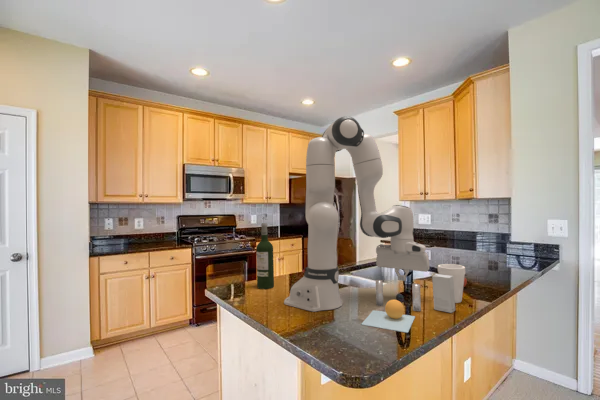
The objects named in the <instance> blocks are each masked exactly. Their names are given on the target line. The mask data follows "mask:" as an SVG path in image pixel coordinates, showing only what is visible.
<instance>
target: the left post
mask: <svg viewBox="0 0 600 400" xmlns="http://www.w3.org/2000/svg"><path fill="white" fill-rule="evenodd" d="M383 282H384V280H381V279H376V280H375V305H376V306H378V307H383V306H384V284H383Z"/></svg>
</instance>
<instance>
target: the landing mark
mask: <svg viewBox="0 0 600 400" xmlns="http://www.w3.org/2000/svg"><path fill="white" fill-rule="evenodd" d="M415 319H416V316H415V315H409V314H403V315H402V317H400V318H398V319H393V318H391V317H389V316H388V315H387V313H386V311H381V310H376V309H375V310H374V309H372V311H371V312H370V313H369V315H368V316H367V317H366V318H365V319H364V320H363V321H362V322H361V326H366V327H371V328H378V329H384V330H389V331H394V332H399V333H400V332H401V333H406V334H408V333H409V331H410V330H411V327H412V325H413V323H414V321H415Z"/></svg>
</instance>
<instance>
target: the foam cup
mask: <svg viewBox="0 0 600 400" xmlns="http://www.w3.org/2000/svg"><path fill="white" fill-rule="evenodd" d="M437 273H438V274H441V275H449V276H453V280H454V296H455V304H459V303H461V302H462V300H463V293H464V287H463V285H464V276H465V274H466V267H465V266H464V265H460V264H454V263H443V264H438V265H437ZM465 277H466V276H465Z"/></svg>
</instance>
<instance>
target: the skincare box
mask: <svg viewBox="0 0 600 400" xmlns="http://www.w3.org/2000/svg"><path fill="white" fill-rule="evenodd" d="M431 279H432V294H433V295H432V296H433V310H435V311H441V312H445V313H449V314H453V313H454V312H455V311H456V303H455V296H454V280H453V276H449V275H441V274H439V273H435V274H433V275H431Z"/></svg>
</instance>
